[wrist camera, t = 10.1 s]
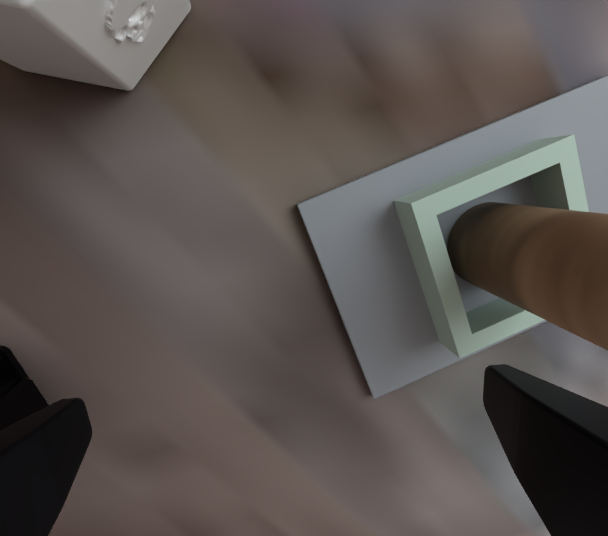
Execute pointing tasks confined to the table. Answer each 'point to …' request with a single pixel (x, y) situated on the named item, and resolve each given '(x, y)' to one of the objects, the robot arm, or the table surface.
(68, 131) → the table surface
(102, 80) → the jar
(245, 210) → the table surface
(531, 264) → the pepper mill
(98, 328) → the table surface
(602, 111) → the well board
